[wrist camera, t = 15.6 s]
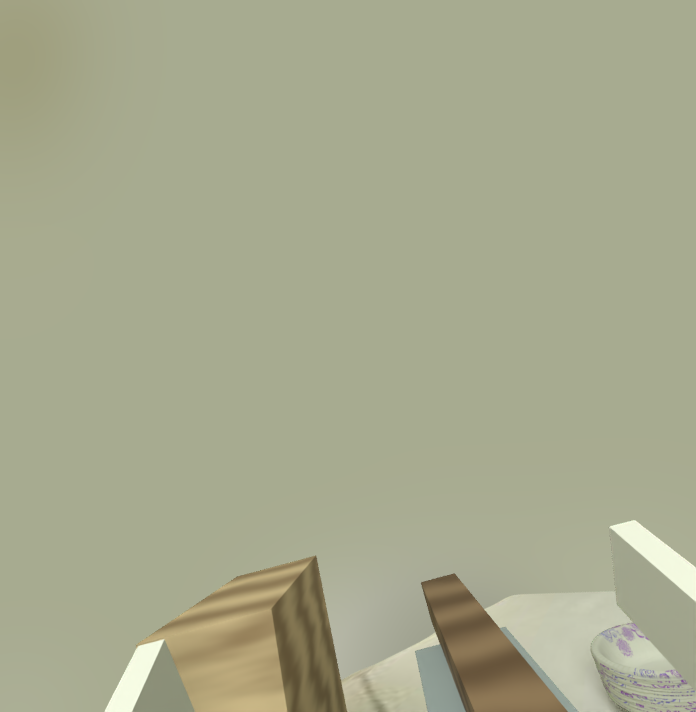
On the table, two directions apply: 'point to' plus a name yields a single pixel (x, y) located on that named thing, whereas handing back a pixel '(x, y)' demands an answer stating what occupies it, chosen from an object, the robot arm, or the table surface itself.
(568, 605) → the table surface
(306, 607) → the tall stand
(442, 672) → the base block
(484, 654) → the walnut block
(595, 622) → the table surface
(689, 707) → the paper bowls
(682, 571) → the robot arm
